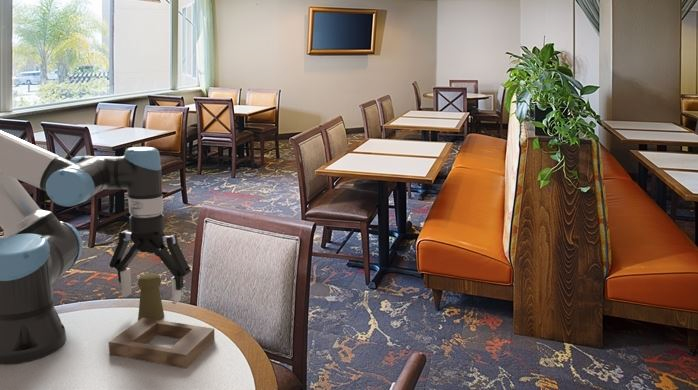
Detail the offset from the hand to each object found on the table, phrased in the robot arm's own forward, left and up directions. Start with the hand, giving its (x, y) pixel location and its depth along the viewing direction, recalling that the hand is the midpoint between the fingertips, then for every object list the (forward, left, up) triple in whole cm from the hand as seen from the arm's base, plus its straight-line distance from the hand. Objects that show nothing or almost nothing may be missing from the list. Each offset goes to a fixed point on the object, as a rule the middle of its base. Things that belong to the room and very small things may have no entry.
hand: (151, 298), depth 128 cm
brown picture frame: (+11, -12, -5) cm, 17 cm away
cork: (0, 0, -5) cm, 5 cm away
